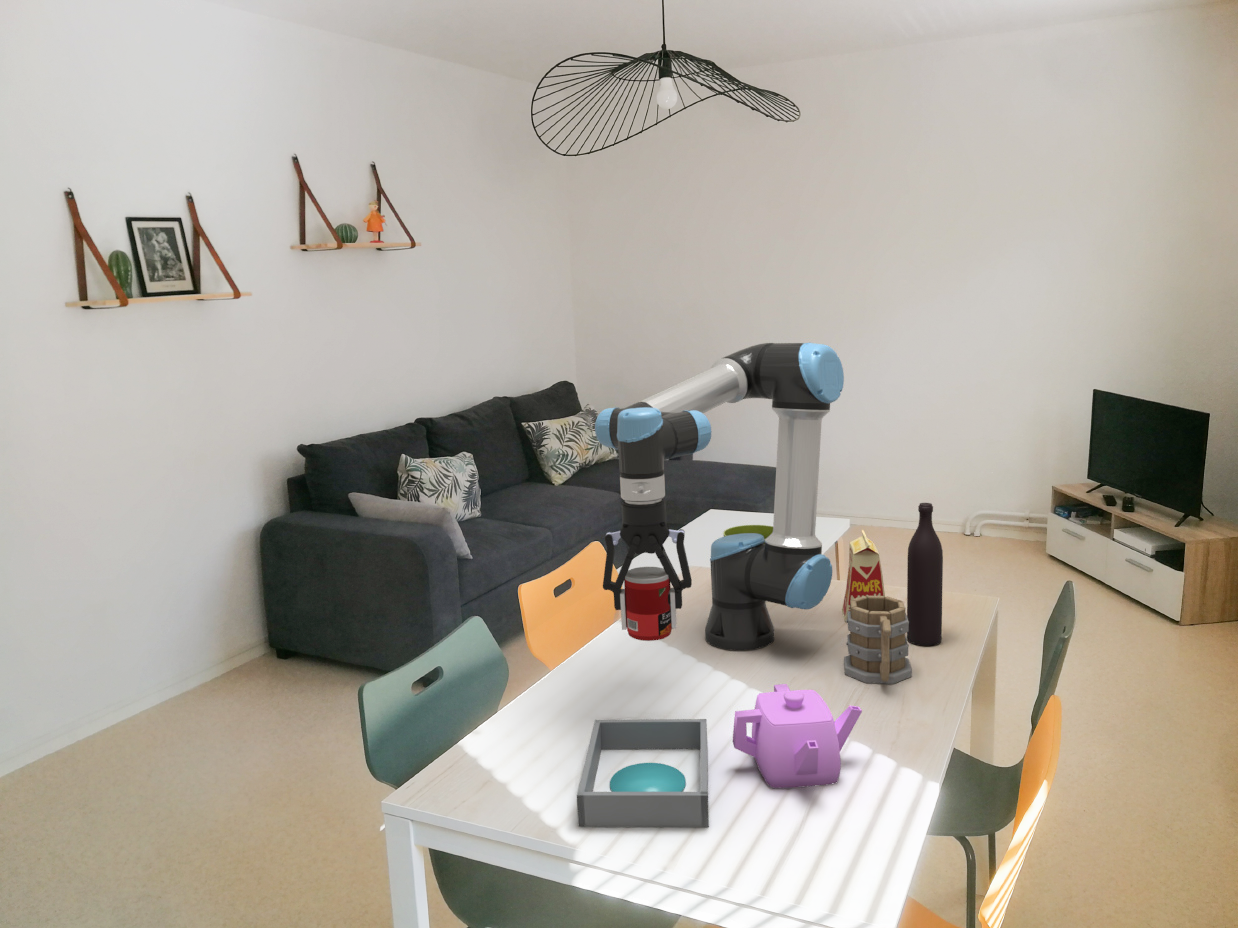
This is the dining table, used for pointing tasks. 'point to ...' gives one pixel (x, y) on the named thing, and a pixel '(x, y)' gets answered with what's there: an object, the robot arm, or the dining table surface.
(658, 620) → the canned food
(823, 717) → the teakettle
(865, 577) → the milk carton
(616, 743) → the grey square tray
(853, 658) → the tankard
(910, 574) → the wine bottle
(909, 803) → the dining table surface
